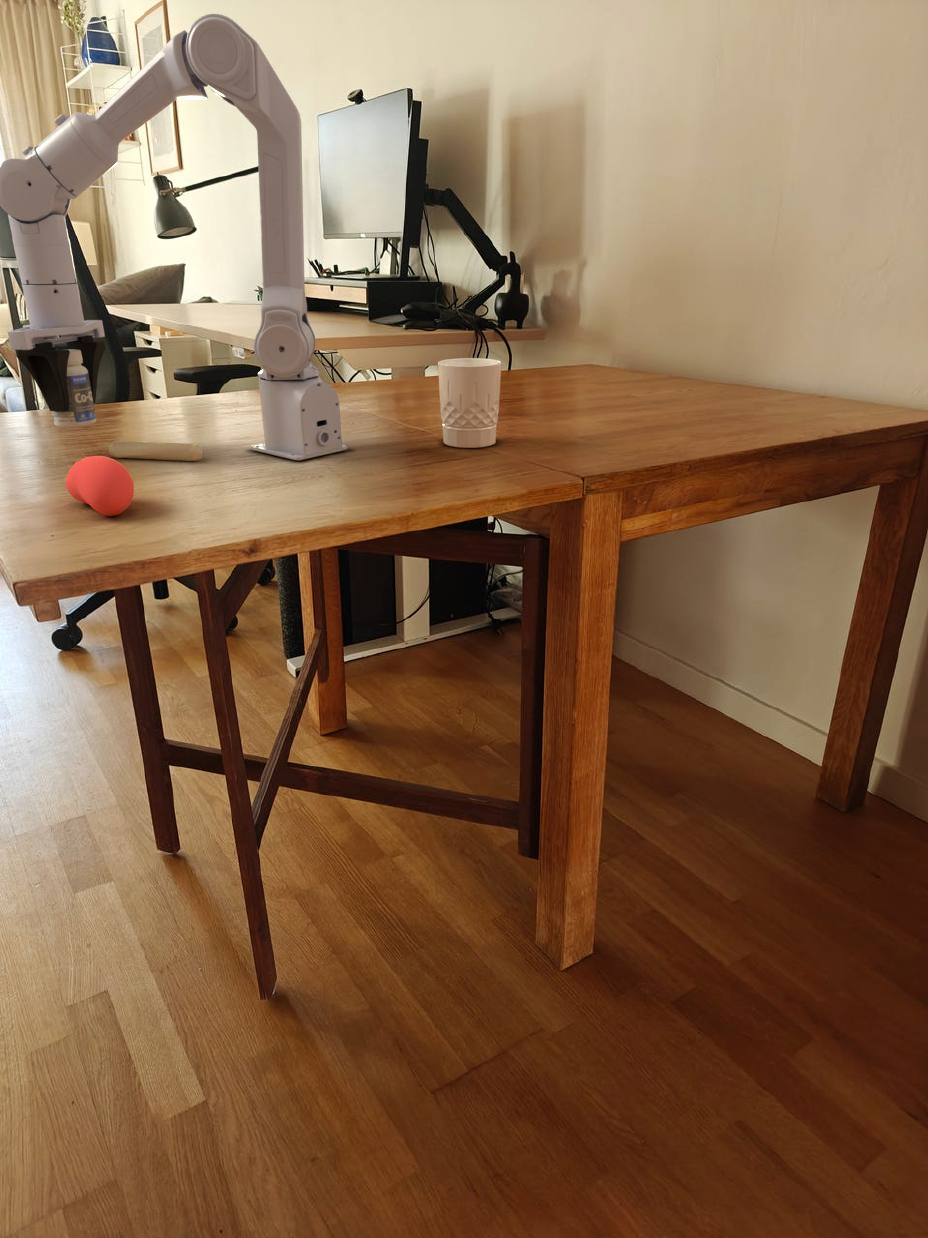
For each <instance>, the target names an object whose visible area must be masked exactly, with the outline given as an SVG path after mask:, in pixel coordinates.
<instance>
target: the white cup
mask: <svg viewBox="0 0 928 1238" xmlns="http://www.w3.org/2000/svg"><path fill="white" fill-rule="evenodd" d="M437 373H438V392H439V393H438V394H439V404H440V405H439V407H440V416H441V417H440V418H441V419H440V420H441V422H442V438H443V439H442V440H443V444H445V445H446V446H449V447H454V448H462V449H477V448H478V449H479V448H486V447H490V446H492V445H495V444H496V440H497V426H498V424H497V423H498V421H499V410H500V397H501V396H500V395H501V380H502V379H501V378H502V361H501V360H498V359H493V358H484V357H483V358H481V357H480V358H479V357H460V358H459V357H458V358H457V357H456V358H447V359H442V360H439V361H438V362H437Z"/></svg>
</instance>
